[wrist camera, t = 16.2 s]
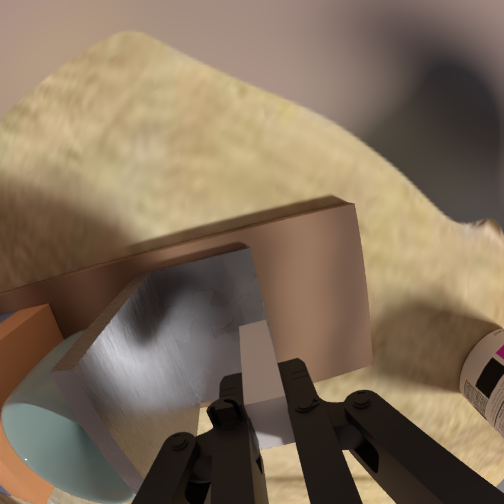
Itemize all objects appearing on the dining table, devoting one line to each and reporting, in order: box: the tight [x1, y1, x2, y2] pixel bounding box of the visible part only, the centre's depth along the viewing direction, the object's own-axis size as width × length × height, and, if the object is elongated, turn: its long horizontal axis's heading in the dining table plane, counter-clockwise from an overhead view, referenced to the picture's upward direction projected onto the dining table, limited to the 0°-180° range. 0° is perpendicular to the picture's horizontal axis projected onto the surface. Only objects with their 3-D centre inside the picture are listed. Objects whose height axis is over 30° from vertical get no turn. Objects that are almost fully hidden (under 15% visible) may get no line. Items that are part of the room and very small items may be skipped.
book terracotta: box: [0, 303, 64, 504], centre depth 14 cm, size 4×9×11 cm, turn 13°
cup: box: [1, 329, 136, 504], centre depth 15 cm, size 8×8×10 cm
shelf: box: [0, 202, 373, 408], centre depth 14 cm, size 31×12×13 cm, turn 103°
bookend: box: [50, 246, 278, 494], centre depth 14 cm, size 7×10×11 cm
